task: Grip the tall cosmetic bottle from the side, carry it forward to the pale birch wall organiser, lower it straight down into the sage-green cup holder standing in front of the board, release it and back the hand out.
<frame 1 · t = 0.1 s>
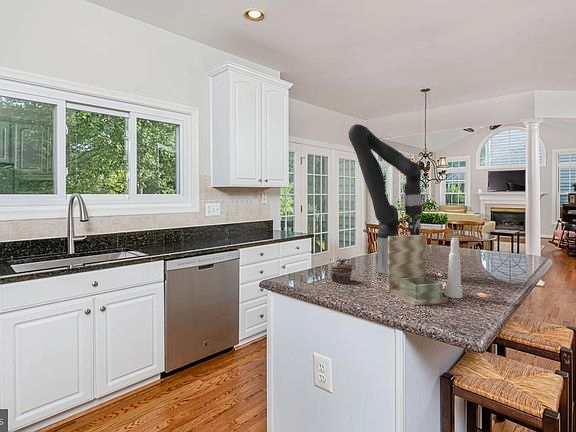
hand: (415, 239, 169), 17 cm above the countertop, tool pointing down, fingers open, 8 cm apart
wall organiser: (420, 298, 132), on the countertop
cosmetic bottle: (453, 296, 135), on the countertop
cupcake: (340, 281, 159), on the countertop
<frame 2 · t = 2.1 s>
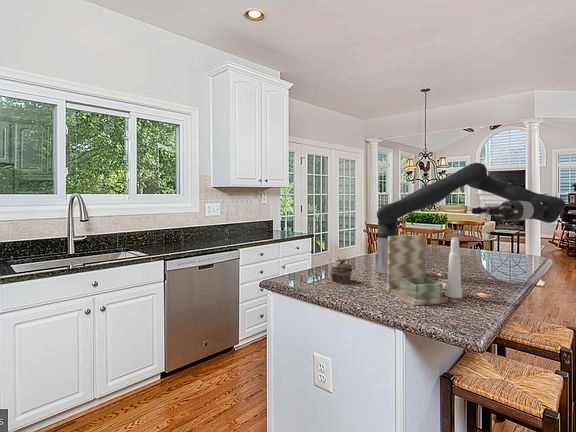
hand: (480, 211, 135), 32 cm above the countertop, tool horizontal, fingers open, 8 cm apart
nothing on the countertop moved.
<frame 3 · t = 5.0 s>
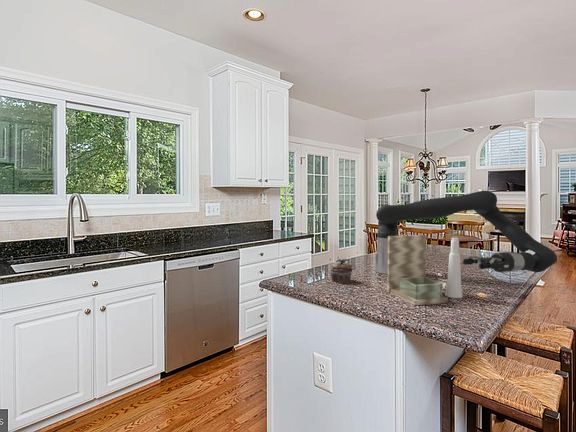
hand: (471, 263, 136), 12 cm above the countertop, tool horizontal, fingers open, 8 cm apart
nothing on the countertop moved.
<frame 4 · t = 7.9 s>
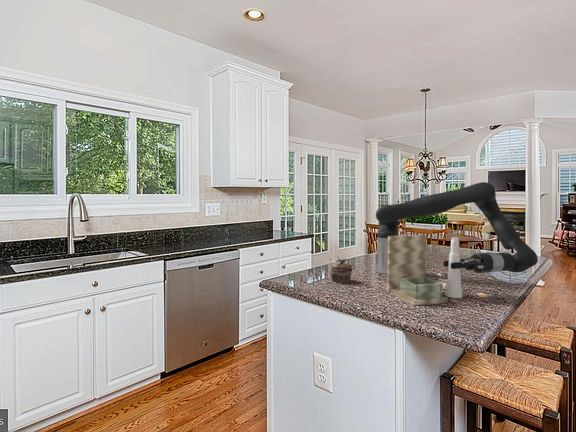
hand: (447, 264, 134), 12 cm above the countertop, tool horizontal, fingers closed on cosmetic bottle, 3 cm apart
cosmetic bottle: (453, 296, 135), on the countertop, touching gripper
everything else where it was.
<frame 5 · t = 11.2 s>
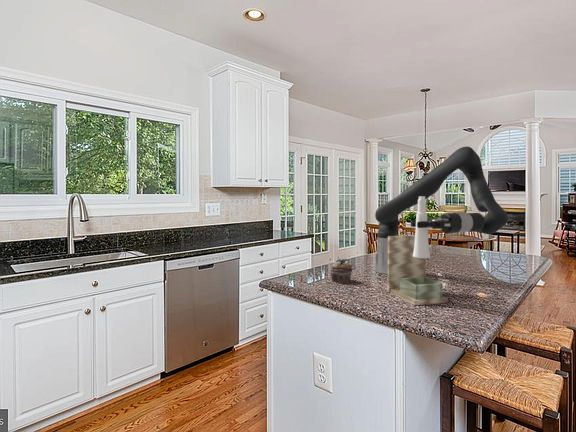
hand: (414, 224, 130), 27 cm above the countertop, tool horizontal, fingers closed on cosmetic bottle, 3 cm apart
cosmetic bottle: (421, 257, 131), point 15 cm above the countertop, touching gripper
everything else where it was.
when the fingers open (15 cm above the countertop, at t = 14.5 s): cosmetic bottle drops 1 cm, resting on wall organiser.
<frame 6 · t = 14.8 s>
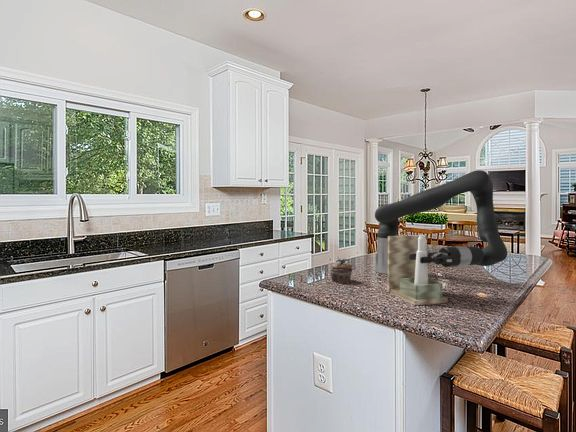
hand: (415, 258, 130), 15 cm above the countertop, tool horizontal, fingers open, 6 cm apart
cosmetic bottle: (421, 295, 132), point 1 cm above the countertop, touching wall organiser
everything else where it was.
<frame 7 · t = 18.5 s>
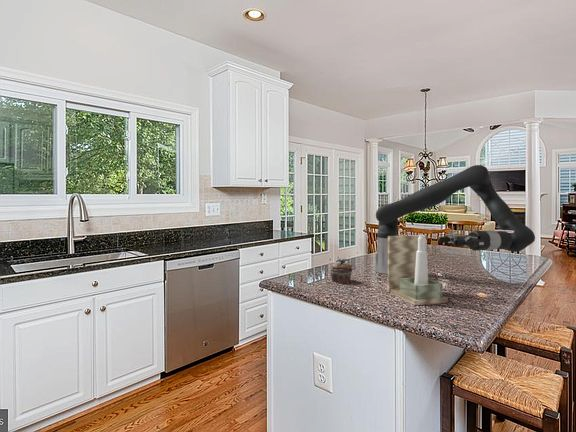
hand: (446, 241, 133), 21 cm above the countertop, tool horizontal, fingers open, 8 cm apart
nothing on the countertop moved.
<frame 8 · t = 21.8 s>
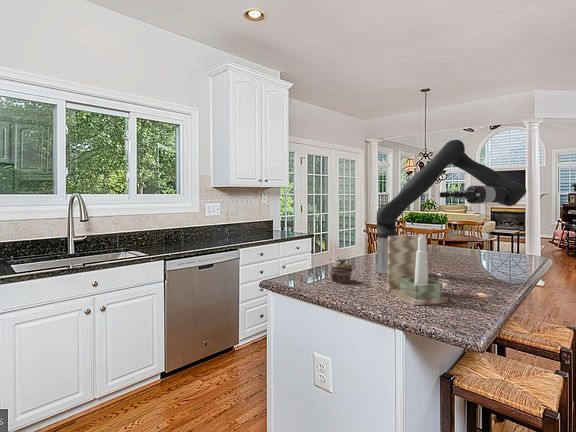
hand: (446, 194, 148), 38 cm above the countertop, tool horizontal, fingers open, 8 cm apart
nothing on the countertop moved.
at the end: cosmetic bottle 0.3 cm off-centre on the wall organiser, point 1.3 cm above the wall organiser's base; cosmetic bottle tilted 0°; the gripper is holding nothing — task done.
